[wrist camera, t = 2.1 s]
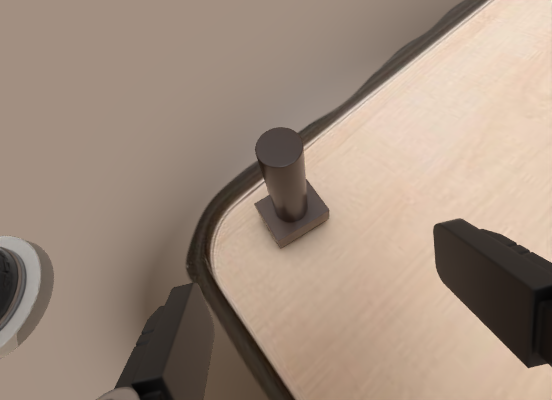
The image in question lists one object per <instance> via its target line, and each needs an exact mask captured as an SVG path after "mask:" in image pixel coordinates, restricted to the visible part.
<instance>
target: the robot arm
mask: <svg viewBox="0 0 552 400" xmlns="http://www.w3.org/2000/svg"><path fill="white" fill-rule="evenodd" d="M433 234H434V249H435V263H436V269H437V272H438V274H439V277H440V278H441V280H442V282H443V283H444V284H445V285H446V286H447V287H448V288H449V289H450V290H451V291H452V292H453V293H454V294H455V295H456V296H457V297H458V298H459V299H460V300H461V301H462V302H463V303H464V304H465V305H466V306H467V307H468V308H469V309H470V310H471V311H472V312H473V313H474V314H475V315H476V316H477V317H478V318H479V319H480V320H481V321H482V322H483V323H484V324H485V325H486V326H487V327H488V328H489V329H490V330H491V331H492V332H493V333H494V334H495V335H496V336H497V337H498V338H499V339H500V340H501V341H502V342H503V343H504V344H505V345H506V346H507V347H508V348H509V349H510V350H511V351H512V352H513V353H514V354H515V355H516V356H517V357H518V358H519V359H520V360H521V361H522V362H523V363H524V364H525V365H526V366H527V367H528V368H530V367H535V366H539V365H543V364H549V365H550V366H551V367H552V263H551V262H549V261H547V260H546V259H544V258H542V257H540V256H538V255H537V254H535V253H533V252H531V253H530V251H529V250H528V249H526V248H524V247H523V246H521V245H517V244H516V242H514V241H512V240H510V239H509V238H507V237H505V236H503V235H502V234H498V233H495V232H491V231H488V230H485V229H478V228H476V227H475V226H473V225H471V224H470V223H468V222H466V221H465V220H463V219H460V218H459V219H455V220H450V221H446V222H442V223H438V224H436V225H435V226H434V229H433ZM26 280H27V274H26V268H25V264H24V262H23V260H22V258H21V257H20V256H19V255H18V254H17V253H16V252H14V251H12V250H10V249H7V248H4V247H0V331H1V330H2V329H3V328H4V327H5V326H6V325H7V323H8V322H9V321H10V320H11V318H12V317H13V315H14V314H15V312H16V310H17V309H18V307H19V305H20V303H21V300H22V298H23V295H24V292H25V288H26ZM213 342H214V325H213V320H212V317H211V315H210V312H209V309H208V307H207V304H206V302H205V299H204V297H203V294H202V292H201V289H200V287H199V285H198V284H197V283H196V282H195V283H190V284H186V285H182V286H179V287H174V288H173V289H172V290H171V292H170V295H169V297H168V300H167V302H166V304H165V306H161V307H159V308H158V309H157V310H156V311H155V312H154V313H153V315H152V316H151V317H150V318H149V319H148V320H147V322H146V324H145V327H144V329H143V331H142V335H140V337H139V339H138V341H137V343H136V347H134V349H133V351H132V353H131V355H130V357H129V359H128V361H127V364H126V366H125V368H124V370H123V372H122V374H121V376H120V378H119V380H118V382H117V384H116V386H115V388H114V390H111V391H109V392H107V393H105V394H104V395H102V396H101V397H99V398H98V399H96V400H203V398H204V393H205V387H206V381H207V375H208V370H209V365H210V359H211V353H212V347H213Z"/></svg>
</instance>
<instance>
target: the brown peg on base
mask: <svg viewBox="0 0 552 400" xmlns="http://www.w3.org/2000/svg"><path fill="white" fill-rule="evenodd" d="M255 151H256V156H257V159H258V162H259V165H260V168H261V171H262V174H263V177H264V180H265V183H266V186H267V189H268V192H269V196H267V197H265V198H264V199H262V200H260V201H258V202H257V203H255V206H256V209H257V211H258V213H259V214H260V216H261V218H262V219H263V221H264V223H265V224H266V226H267V227H268V229H269V231H270V232H271V234H272V236H273V237H274V239H275V240H276V242H277V244H278V245H279V247H280V248H282V247H284V246H285V245H287V244H289V243H290V242H292V241H294V240H295V239H297V238H298V237H300V236H302V235H303V234H305V233H307V232H308V231H310V230H312V229H313V228H315V227H316V226H318V225H320V224H321V223H323V222H325V221H326V220H327V219H329V209H328V207H327V206H326V205H325V203H324V202H323V201H322V199H321V198H320V197H319V195H318V194H317V193H316V191H315V190H314V189H313V187H312V186H311V185H310V183H309V182H308V181H307V179H306V174H305V160H304V147H303V141H302V139H301V137H300V135H299V134H298V133H296V132H295V131H294V130H291V129H289V128H283V127H279V128H273V129H271V130H269V131H266V132H265V133H264V134H262V135H261V137H260V138H259V139H258V141H257V143H256V147H255Z"/></svg>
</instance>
